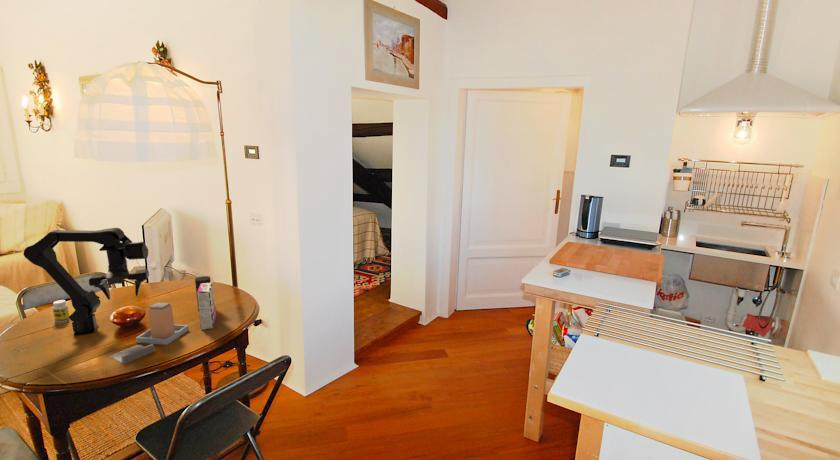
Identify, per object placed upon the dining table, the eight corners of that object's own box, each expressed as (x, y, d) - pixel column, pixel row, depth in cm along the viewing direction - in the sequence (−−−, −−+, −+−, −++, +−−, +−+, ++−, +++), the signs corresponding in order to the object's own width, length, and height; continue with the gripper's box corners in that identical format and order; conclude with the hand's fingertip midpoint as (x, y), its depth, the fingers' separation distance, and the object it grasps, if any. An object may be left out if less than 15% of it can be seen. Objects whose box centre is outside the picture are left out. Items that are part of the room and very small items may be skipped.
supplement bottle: (53, 323, 169) (49, 304, 167) (56, 319, 173) (53, 300, 171) (68, 321, 171) (64, 302, 169) (71, 317, 175) (68, 298, 173)
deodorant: (215, 309, 186) (212, 278, 182) (201, 313, 182) (197, 281, 178) (209, 306, 190) (207, 275, 186) (196, 309, 185) (192, 278, 182)
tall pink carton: (151, 338, 158) (147, 307, 155) (160, 332, 163) (157, 301, 160) (166, 339, 157) (162, 308, 155) (175, 333, 162) (171, 302, 159)
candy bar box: (203, 319, 176) (200, 283, 173) (216, 317, 178) (213, 281, 174) (200, 330, 166) (196, 292, 163) (213, 328, 168) (210, 291, 164)
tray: (136, 343, 155) (135, 337, 154) (160, 328, 167) (159, 323, 166) (167, 345, 154) (166, 340, 153) (188, 330, 166) (188, 325, 165)
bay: (109, 356, 145) (107, 349, 145) (139, 344, 154) (138, 337, 153) (124, 364, 141) (123, 357, 140) (154, 352, 149) (153, 344, 148)
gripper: (80, 269, 150) (88, 309, 153) (141, 263, 157) (147, 301, 161) (90, 260, 160) (97, 298, 163) (146, 255, 167) (152, 291, 171)
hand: (123, 297), depth 164 cm, fingers open, 9 cm apart
